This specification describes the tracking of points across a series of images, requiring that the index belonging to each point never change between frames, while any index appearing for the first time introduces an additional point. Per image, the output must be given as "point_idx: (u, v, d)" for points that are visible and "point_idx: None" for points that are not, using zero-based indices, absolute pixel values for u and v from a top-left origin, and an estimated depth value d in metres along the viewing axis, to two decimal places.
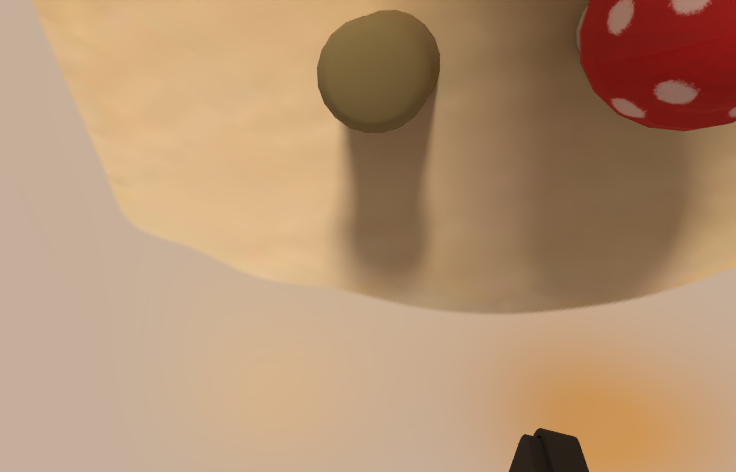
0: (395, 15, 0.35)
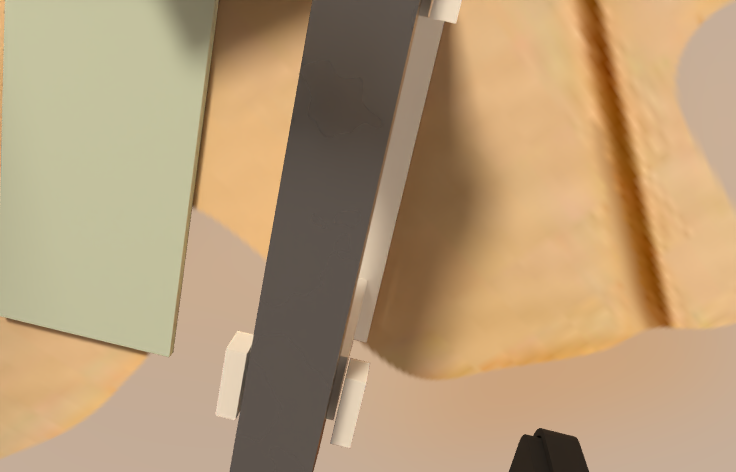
0: None
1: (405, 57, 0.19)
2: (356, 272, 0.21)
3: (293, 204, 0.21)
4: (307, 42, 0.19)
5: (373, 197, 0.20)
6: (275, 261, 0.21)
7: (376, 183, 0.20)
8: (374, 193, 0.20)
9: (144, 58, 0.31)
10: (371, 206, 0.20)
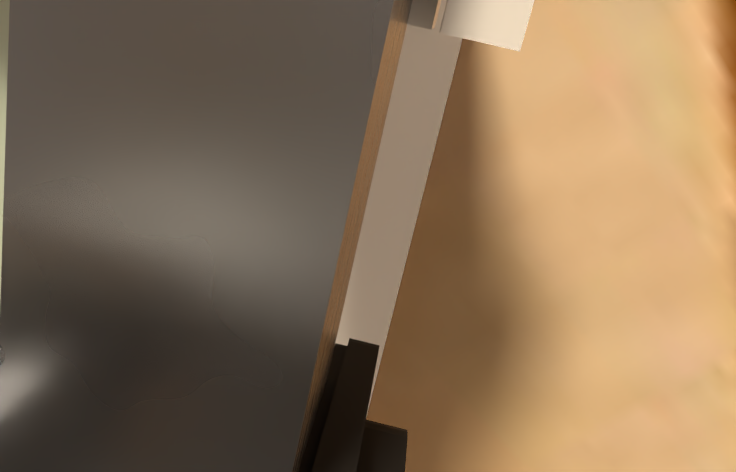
0: None
1: (351, 174, 0.05)
2: None
3: None
4: (12, 119, 0.05)
5: None
6: None
7: None
8: None
9: None
10: None
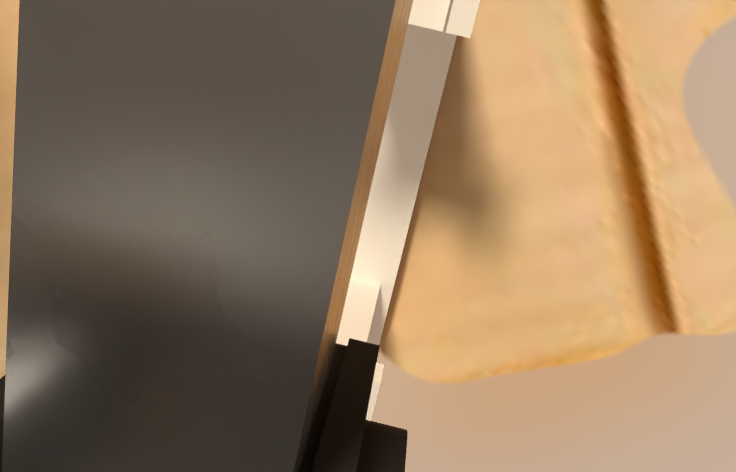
0: None
1: (354, 171, 0.05)
2: None
3: None
4: (21, 117, 0.06)
5: None
6: None
7: None
8: None
9: None
10: None
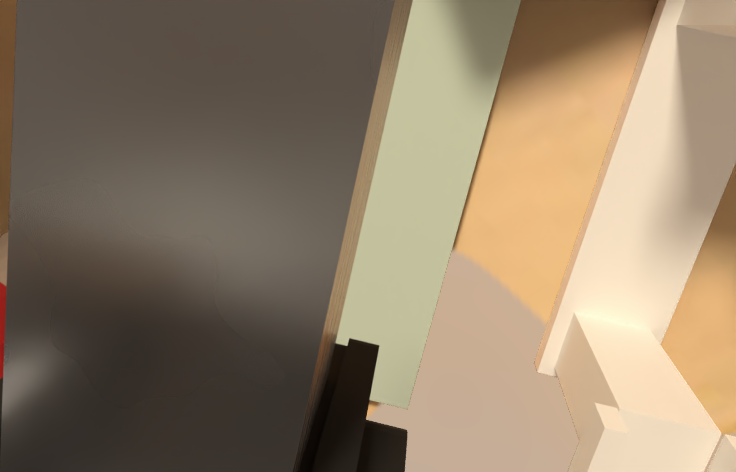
0: None
1: (352, 175, 0.05)
2: None
3: None
4: (18, 121, 0.06)
5: None
6: None
7: None
8: None
9: (424, 88, 0.28)
10: None
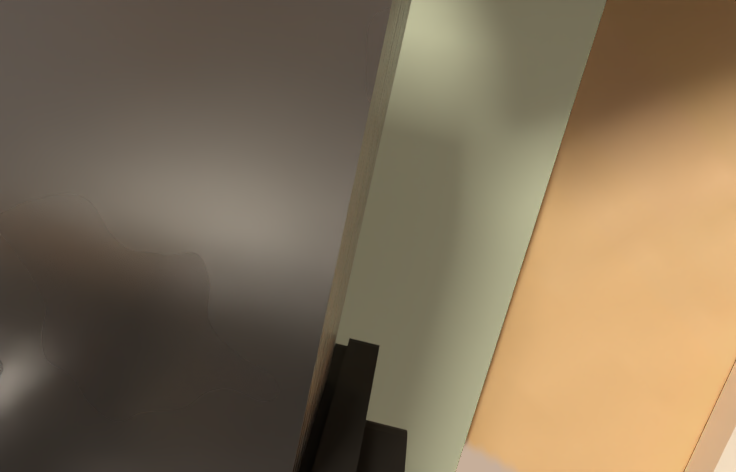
0: None
1: (346, 192, 0.05)
2: None
3: None
4: (1, 136, 0.05)
5: None
6: None
7: None
8: None
9: (406, 150, 0.14)
10: None
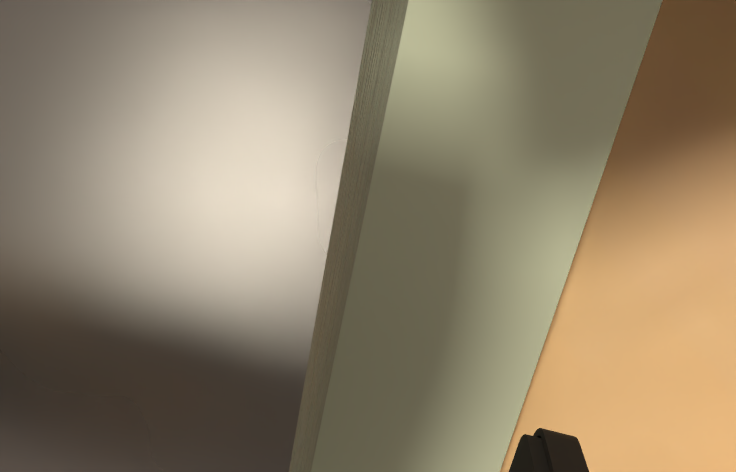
0: None
1: (304, 349, 0.04)
2: None
3: None
4: None
5: None
6: None
7: None
8: None
9: (404, 193, 0.11)
10: None
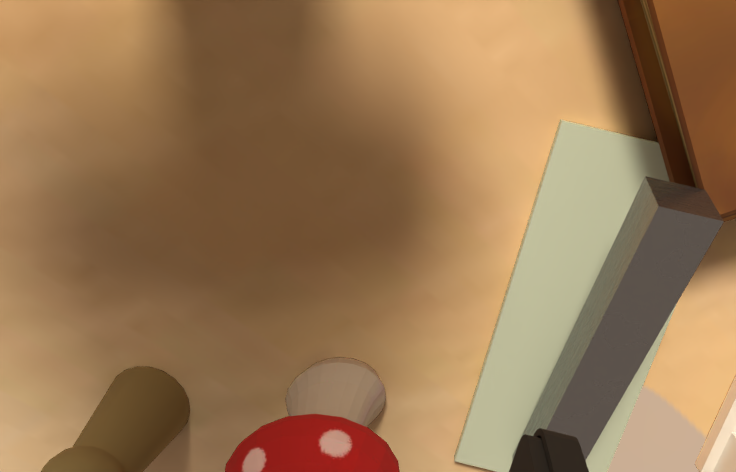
0: (138, 386, 0.44)
1: (668, 315, 0.32)
2: (615, 407, 0.36)
3: (583, 375, 0.35)
4: (610, 305, 0.33)
5: (634, 375, 0.35)
6: (566, 399, 0.37)
7: (637, 369, 0.35)
8: (635, 373, 0.35)
9: None
10: (631, 379, 0.35)
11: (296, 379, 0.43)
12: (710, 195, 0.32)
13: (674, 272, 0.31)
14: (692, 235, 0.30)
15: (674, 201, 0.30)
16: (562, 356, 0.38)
